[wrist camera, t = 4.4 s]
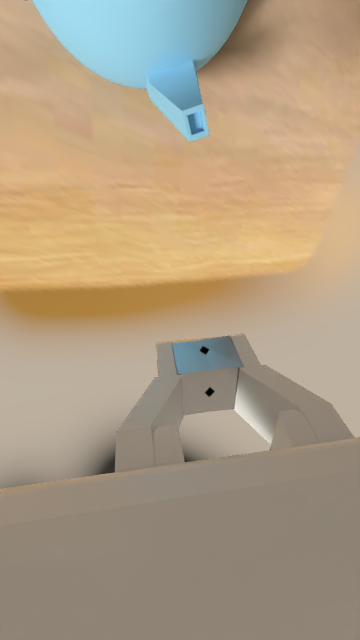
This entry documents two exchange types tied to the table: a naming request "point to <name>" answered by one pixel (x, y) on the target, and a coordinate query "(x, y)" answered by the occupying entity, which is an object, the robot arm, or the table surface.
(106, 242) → the table surface
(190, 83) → the teapot
